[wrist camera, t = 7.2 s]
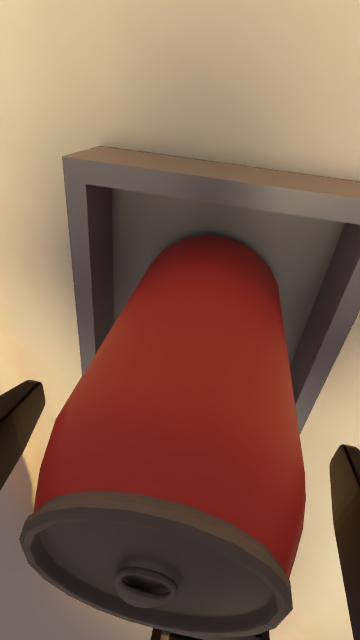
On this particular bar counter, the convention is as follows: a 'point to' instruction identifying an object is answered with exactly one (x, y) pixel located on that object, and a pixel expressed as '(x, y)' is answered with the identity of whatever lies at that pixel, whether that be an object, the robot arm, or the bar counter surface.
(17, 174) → the bar counter surface
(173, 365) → the beer can
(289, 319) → the tray
